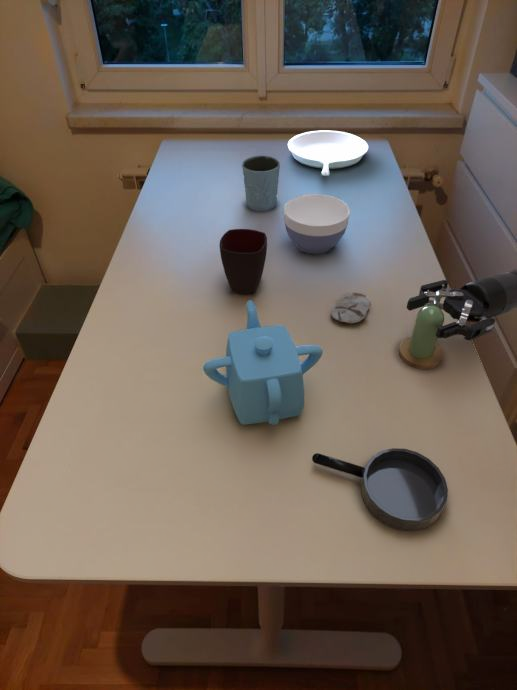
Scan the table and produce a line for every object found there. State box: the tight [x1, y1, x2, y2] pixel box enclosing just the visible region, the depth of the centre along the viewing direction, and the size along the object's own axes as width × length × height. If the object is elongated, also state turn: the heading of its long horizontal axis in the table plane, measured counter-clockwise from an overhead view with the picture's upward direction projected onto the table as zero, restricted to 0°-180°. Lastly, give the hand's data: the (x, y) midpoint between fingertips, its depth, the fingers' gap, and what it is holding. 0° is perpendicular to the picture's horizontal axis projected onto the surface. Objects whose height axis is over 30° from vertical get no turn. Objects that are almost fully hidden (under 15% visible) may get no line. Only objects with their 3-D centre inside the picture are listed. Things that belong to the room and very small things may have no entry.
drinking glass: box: [241, 155, 281, 212], centre depth 138 cm, size 10×10×12 cm
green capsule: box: [408, 305, 445, 359], centre depth 93 cm, size 5×5×10 cm
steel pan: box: [360, 447, 449, 532], centre depth 75 cm, size 12×12×3 cm
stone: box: [330, 292, 372, 324], centre depth 106 cm, size 10×7×3 cm
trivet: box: [398, 337, 443, 370], centre depth 97 cm, size 8×8×1 cm
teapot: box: [202, 300, 323, 426], centre depth 86 cm, size 18×16×14 cm
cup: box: [218, 228, 268, 295], centre depth 111 cm, size 10×14×12 cm
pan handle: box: [311, 452, 365, 479], centre depth 77 cm, size 9×2×2 cm, turn 69°
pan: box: [287, 129, 369, 177], centre depth 161 cm, size 26×39×5 cm
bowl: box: [283, 193, 351, 255], centre depth 124 cm, size 16×16×10 cm
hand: (422, 319), depth 90 cm, fingers open, 8 cm apart
